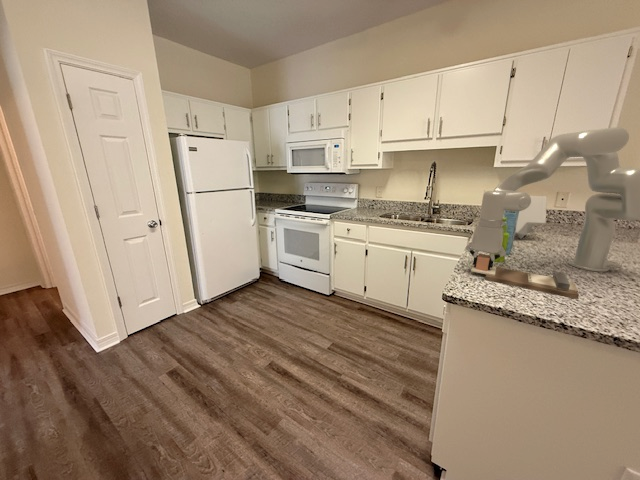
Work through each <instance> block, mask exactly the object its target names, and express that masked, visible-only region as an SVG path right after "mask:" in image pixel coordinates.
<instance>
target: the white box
mask: <svg viewBox="0 0 640 480" xmlns="http://www.w3.org/2000/svg"><path fill="white" fill-rule="evenodd" d="M529 196H530V198H531V204H530V205H529V207H528V208H526V209H525V210H522V211H519V215H518V220H517V225H516V231H515V236H514V237H519V240H523V239H526V238H527V237H529V235H531V234H533V233H535V232H536V231H535V230H534V229H533V227H537V226H541V225H545V224H546V223H547V204H548V203H547V200H548V197H547V196H546V195H545V196H543V195H541V196H540V195H539V196H538V195H537V196H536V195H529ZM504 215H505V211H504V214H503V217H504Z"/></svg>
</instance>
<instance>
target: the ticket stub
mask: <svg viewBox="0 0 640 480" xmlns="http://www.w3.org/2000/svg"><path fill="white" fill-rule="evenodd" d="M490 256H491V255H490V254H486V253H485V254H484V253H478V258H477V264H476V267H474V264H472V268H471V270H470V272H472V273H478V274H483V275H486V274H487V275H492V276H495V272H496V267H497V266H493V267H492V268H490V270H488V265H489V260H490Z"/></svg>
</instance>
